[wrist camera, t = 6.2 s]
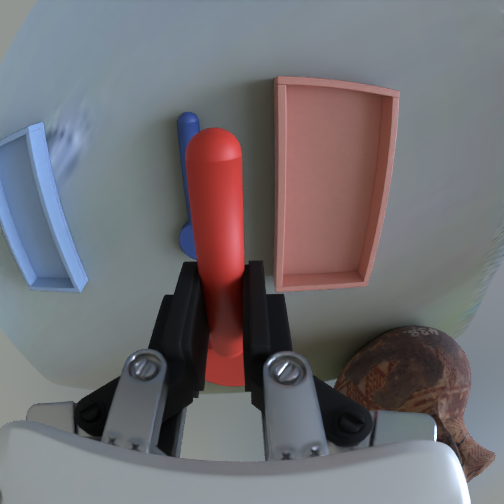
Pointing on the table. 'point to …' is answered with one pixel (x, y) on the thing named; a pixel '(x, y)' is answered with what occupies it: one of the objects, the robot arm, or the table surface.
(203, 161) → the red spoon
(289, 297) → the table surface
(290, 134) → the rose tray
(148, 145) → the table surface
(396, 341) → the jug
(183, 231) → the navy spoon
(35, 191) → the blue tray
